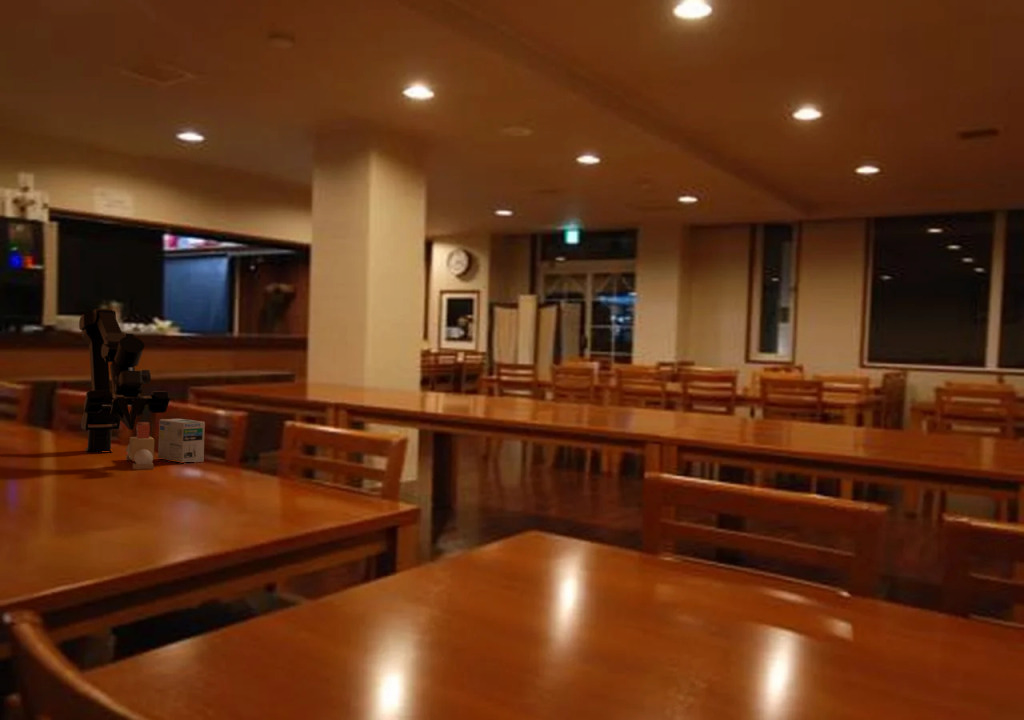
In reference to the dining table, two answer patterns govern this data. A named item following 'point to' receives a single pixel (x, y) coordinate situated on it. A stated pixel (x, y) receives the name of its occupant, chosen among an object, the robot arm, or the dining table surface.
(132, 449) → the valve
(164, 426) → the light bulb box
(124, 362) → the robot arm
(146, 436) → the valve lever
